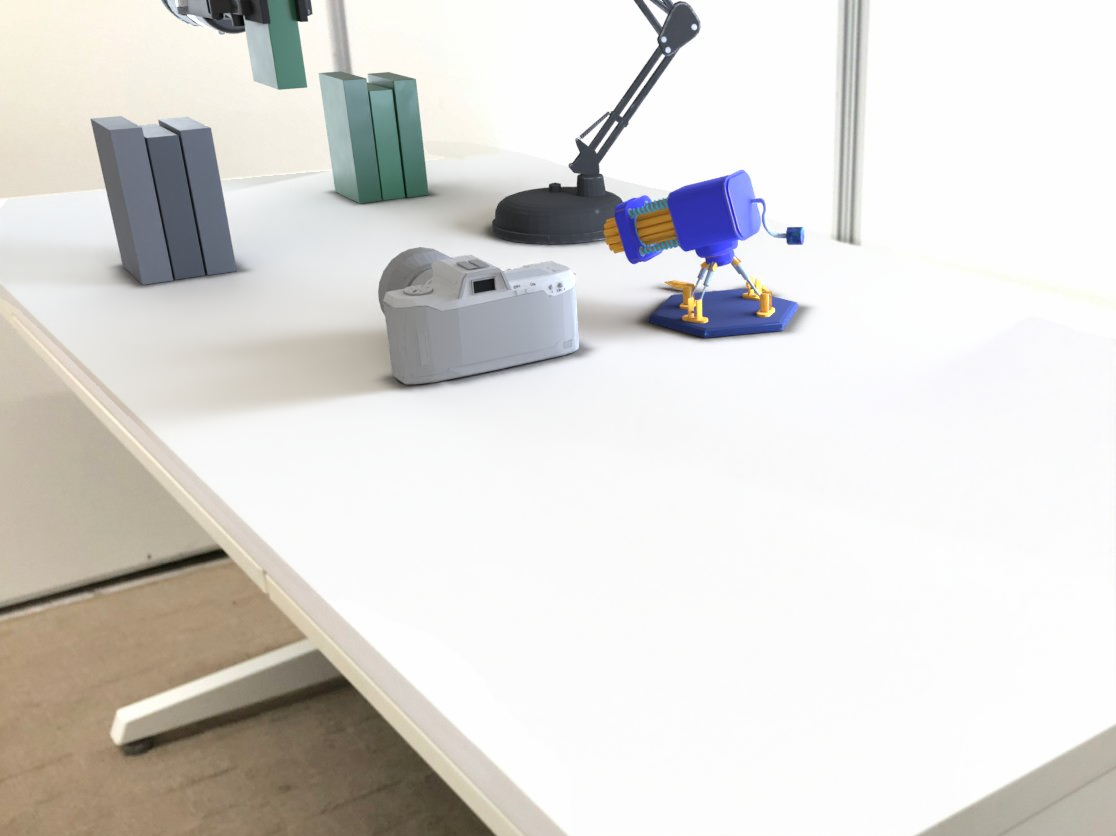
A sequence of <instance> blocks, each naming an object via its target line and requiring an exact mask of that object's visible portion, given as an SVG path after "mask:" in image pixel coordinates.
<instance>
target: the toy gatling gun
mask: <svg viewBox="0 0 1116 836" xmlns="http://www.w3.org/2000/svg"><path fill="white" fill-rule="evenodd" d="M758 204H761V205H762V208H763V209H762V214H761V212H760V209H759V205H758ZM768 213H769V205H768V202H767V200H766V199H764V198H763V197H758V198H757V197H756V194H755V190H754V186H753V182H752V179H751V177H750V175H749V174H748V172H747V171H746V170H745V169H739V170H737V171H735V172H733V173H731V174H727V175H723V176H719V177H715V178H712V179H706V180H704V181H700V182H696V183H691V184H686V185H684V186H681V187H679V188H678V189H675V190H673V191H671V192H669V193H668V195H667V196H666V197H665V198H664V197H662V199H661V198H658V199H657V200H656V199H654V200H653V201H652V199H651V198H650V197H649V196H648V195H646V194H644V195H640V196H639V197H632V198H630V199H627V200H626V201H623V203H621V204H618V205H617V206H616V208H615V212H614V215H615V218H611V219H607V220H606V224H604V228H605V230H604V236H605V237H608V238H605V239H604V241H605V244H606V245H607V246H608V249H609V250H610V252H613V253H614V254H619V253H623V252H624V255H625V257H626V259H627V261H628V262H629V264H631V265H637V264H639V263H645V262H649V261H651V260H652V259H653V258H656V257H657V256H659V255H661V254H662V253H663V251H664V250H665V251H666V250H669V249H670V250H671V249H673V248H674V249H675V248H678V247H679V248H680V249H681V251H683V252H685V253H687V252H691V251H695V254H696V255H697V257H699V258H700V259H705V261H703V262H701V264H700V271H699V273H698V275H697V276H696V277H697V281H696V283H691V282H686V281H680V280H668V281H664V283H665V284H666V285H668V286H670V287H671V288H676V289H682V293H676V294H671V295H669V297H668V298H667V299H666V300H664V302H662V303H661V304H660V305H659V306H658V308H656V309H655V311H653V312H652V313H651V314H650V315H649V317H648V320H647V321H648V323H650V324H653V325H657V326H661V327H664V328H668V329H671V330H675V331H678V332H681V333H686V334H689V335H693V336H696V337H699V338H703V339H709V338H710V339H711V338H720V337H731V336H741V335H751V334H760V333H762V334H763V333H770V332H771V333H772V332H781V331H782V332H783V331H784V330H785V328H786V326H787V325H788V324H789V322H790V321H791V320H792V318H793V316H794V315H795V313H796V312H797V311H798V309H799V304H798V302H796V301H793V300H789V299H785V298H781V297H776V296H773V293H772V291H771V290H769V289H768V287H766V286H764V285H762V277H758V278H755V281H754V277H755V276H753V275H751V276H750V275H749V273H748V272H747V270H746V269H745V267H744V266H743V265H742V260H741V259H739V258H738V257H737V256H736V253H735V249H737V247H738V245H739V241H740V242H743V241H744V242H745V241H746V240H748V239H750V238H751V237H753V236H754V235H756V234H758V233H759V232H760V230H761V225H762V226H763V228H764V230H765V231H766V233H768V234H769V235H770V236H771V237H773V238H776V239H785V240H786V244H787V245H788V246H803V245H804V243H805V229H804V226H787V227H786V231H785V233H784V232H783V233H782V232H781V233H780V232H775V231H774V230H773V229H772V228H771V227H770V226H769V225H768V221H767V220H768V219H767V216H768ZM609 236H610V237H609ZM726 265H731V266H732V267H733V269H734V270H735V271H736V272H737V274H738V275H740V276H741V277H742V278H743V280H744V281H746V283H745V287H746V288H747V289H744V288H733V289H721V290H711V291H706V290H707V287H709V286H710V283H711V281H712V279H713V275H714V272H715V271H716V270H717V268H720V267H724V266H726ZM704 277H705V278H704ZM703 279H704V280H703ZM701 280H703V283H702V285H703V289H702V291H698V292H695V291H696V290H697V287H698V285H699V283H700V281H701Z"/></svg>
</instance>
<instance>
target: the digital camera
mask: <svg viewBox="0 0 1116 836" xmlns="http://www.w3.org/2000/svg"><path fill="white" fill-rule="evenodd" d="M576 275H577V273H575V272H573V270H572V269H571V268H570V267H569V266H567V265H565V264H561V263H558V262H555V261H553V260H548V261H543V262H537V263H530V264H526V265H522V266H520V267H518V268H507V269H506V270H502V269H501V268H499V267H497V266H495V265H494V264H491V263H489V262H487V261H485V260H483V259H481V258H478V257H476V256H474V255H472V254H467V255H460V256H454V257H451V256H449V255H447V254H445V253H443V252H441V251H439V250H437V249H435V248H431V247H424V246H423V247H422V246H418V247H413V248H408V249H406V250H404V251H402V252H400V253H399V254H397V255H396V256H395V257H393V258H392V259H391V260H390V261H389V263H388V264H387V266H385V268H384V269H383V271H382V273H381V277H380V279H379V282H378V289H377V295H378V303H379V306H380V310H381V312H382V313H383V315H384V317H385V327H386V334H387V341H388V342H387V343H388V349H389V350H388V351H389V357H390V365H391V374H392V376H393V377H395V378H396V379H397V381H400V382H401V383H402V384H404V385H421V384H431V383H438V382H443V381H448V380H455V379H458V378H463V377H469V376H474V375H478V374H484V373H488V372H493V371H498V370H502V369H507V368H511V367H516V366H520V365H521V366H522V365H526V364H531V363H535V362H539V361H544V360H548V359H553V358H558V357H561V356H566V355H568V354H572V353H575V352H576V351H578V350H579V349H580V337H579V335H580V334H579V322H578V321H579V319H578V306H577V305H578V304H577V301H578V300H577V285H576V284H577V283H576Z"/></svg>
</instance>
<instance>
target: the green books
mask: <svg viewBox="0 0 1116 836" xmlns="http://www.w3.org/2000/svg"><path fill="white" fill-rule="evenodd" d="M318 80H319V87H320V94H321V101H322V108H323V115H324V121H325V129H326V136H327V143H328V149H329V157H330V163H331V170H332V177H333V184H334V185H333V186H334V191H335V193H337V194H339V195H341V196H343V197H345V198H347V199H350V200H352V201H353V202H355V203H358V204H369V203H377V202H382V201H389V200H396V199H404V198H413V197H414V198H415V197H422V196H423V197H424V196H429V184H428V176H427V166H426V158H425V157H426V156H425V149H424V148H425V147H424V141H423V129H422V121H421V113H420V104H419V95H418V94H419V93H418V85H417V79H416V78H414V77H409V76H406V75H402V74H399V73H394V72H390V71H384V72H372V73H371V72H370V73H367V78H366V77H363V76H359V75H356V74H353V73H349V72H346V71H345V72H344V71H328V72H318Z"/></svg>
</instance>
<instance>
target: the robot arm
mask: <svg viewBox="0 0 1116 836" xmlns="http://www.w3.org/2000/svg"><path fill="white" fill-rule="evenodd" d="M160 1H161V2H162V4H163V6H164V7H165V8H166V9H167V11H169V13H171V14H172V15H173V16H174V17H176V18H177V19H178V20H180V21H182V22H183V23H185V24H187V25H191V26H193V27H202V28H207V29H210V30H213V31H215V32H216V34H217V35H218V36H219V37H222V36H225V35H226V34H229V35H238V34H243V33H246V31H245V23H244V17H243V15H244V16H245V20H248V21H253V22H257V23H261V24H271V21H270V14H269V8H268V2H267V0H160ZM295 7H296V14H297V20H298V23H306V22H307V23H308V22H309V17H310V16H312V15H313V14H314V13H313V5H312V0H295Z"/></svg>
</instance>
